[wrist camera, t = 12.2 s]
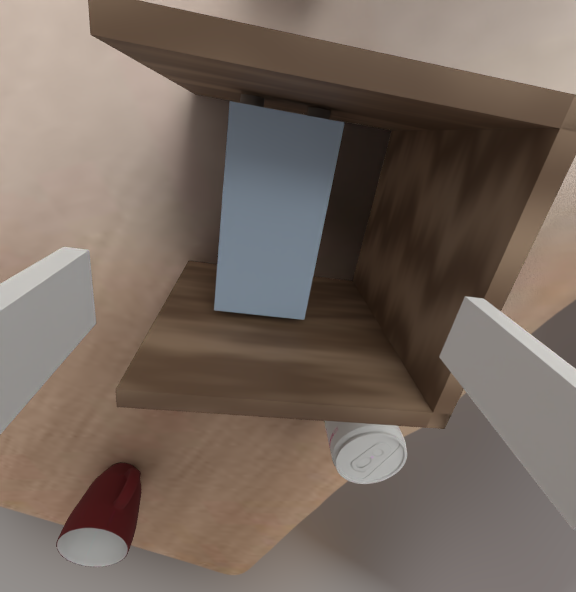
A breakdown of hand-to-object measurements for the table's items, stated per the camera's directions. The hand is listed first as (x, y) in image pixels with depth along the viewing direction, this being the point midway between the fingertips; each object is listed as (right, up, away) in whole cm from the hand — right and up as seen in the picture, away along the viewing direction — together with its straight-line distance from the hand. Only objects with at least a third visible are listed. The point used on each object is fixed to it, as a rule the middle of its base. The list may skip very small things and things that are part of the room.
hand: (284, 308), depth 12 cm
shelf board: (-1, +6, +13) cm, 15 cm away
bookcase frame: (0, +10, +22) cm, 24 cm away
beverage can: (+6, -7, +31) cm, 32 cm away
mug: (-23, -24, +37) cm, 49 cm away
